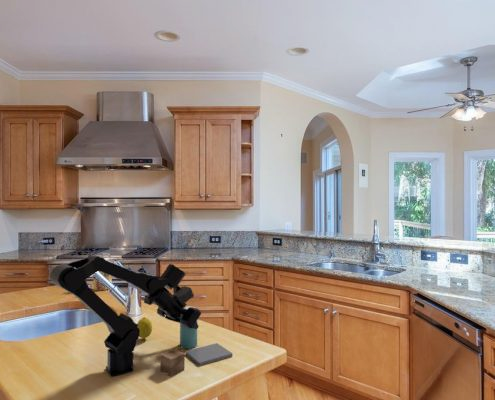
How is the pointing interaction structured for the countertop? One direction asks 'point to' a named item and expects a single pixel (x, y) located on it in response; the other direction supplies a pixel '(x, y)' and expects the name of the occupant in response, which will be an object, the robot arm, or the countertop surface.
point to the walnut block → (172, 362)
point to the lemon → (144, 327)
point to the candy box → (98, 285)
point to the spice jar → (187, 335)
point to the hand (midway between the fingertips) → (191, 325)
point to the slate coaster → (208, 354)
